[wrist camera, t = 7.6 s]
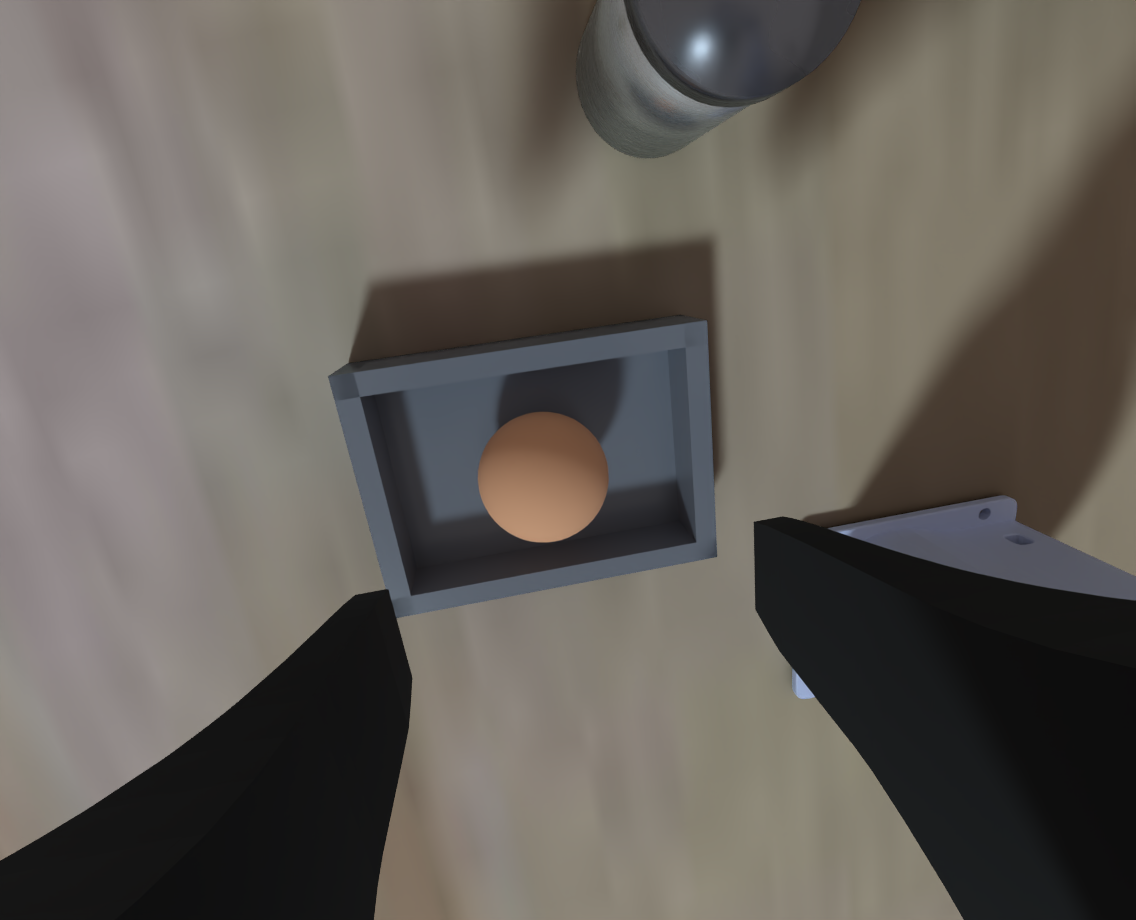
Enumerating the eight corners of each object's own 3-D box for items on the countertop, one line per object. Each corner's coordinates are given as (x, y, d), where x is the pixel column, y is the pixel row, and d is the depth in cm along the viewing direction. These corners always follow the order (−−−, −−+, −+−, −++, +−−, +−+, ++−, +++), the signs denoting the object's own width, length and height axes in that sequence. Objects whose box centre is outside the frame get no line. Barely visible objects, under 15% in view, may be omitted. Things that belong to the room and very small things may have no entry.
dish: (680, 314, 19) (706, 320, 17) (692, 527, 21) (717, 557, 19) (347, 363, 18) (327, 376, 15) (403, 580, 20) (394, 618, 18)
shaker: (721, -28, 16) (881, -228, 10) (726, 153, 17) (866, 83, 11) (562, -13, 15) (619, -215, 9) (582, 170, 17) (642, 108, 11)
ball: (601, 501, 20) (627, 553, 16) (489, 519, 19) (490, 578, 16) (589, 391, 19) (615, 420, 15) (469, 408, 18) (464, 443, 14)
